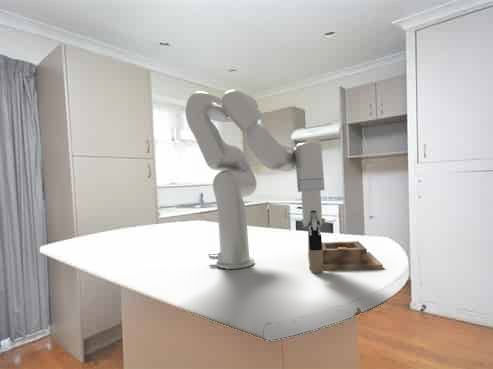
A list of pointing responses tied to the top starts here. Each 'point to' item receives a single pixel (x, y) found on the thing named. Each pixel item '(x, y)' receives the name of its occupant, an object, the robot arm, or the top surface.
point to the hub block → (347, 256)
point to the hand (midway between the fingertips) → (315, 246)
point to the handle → (315, 255)
